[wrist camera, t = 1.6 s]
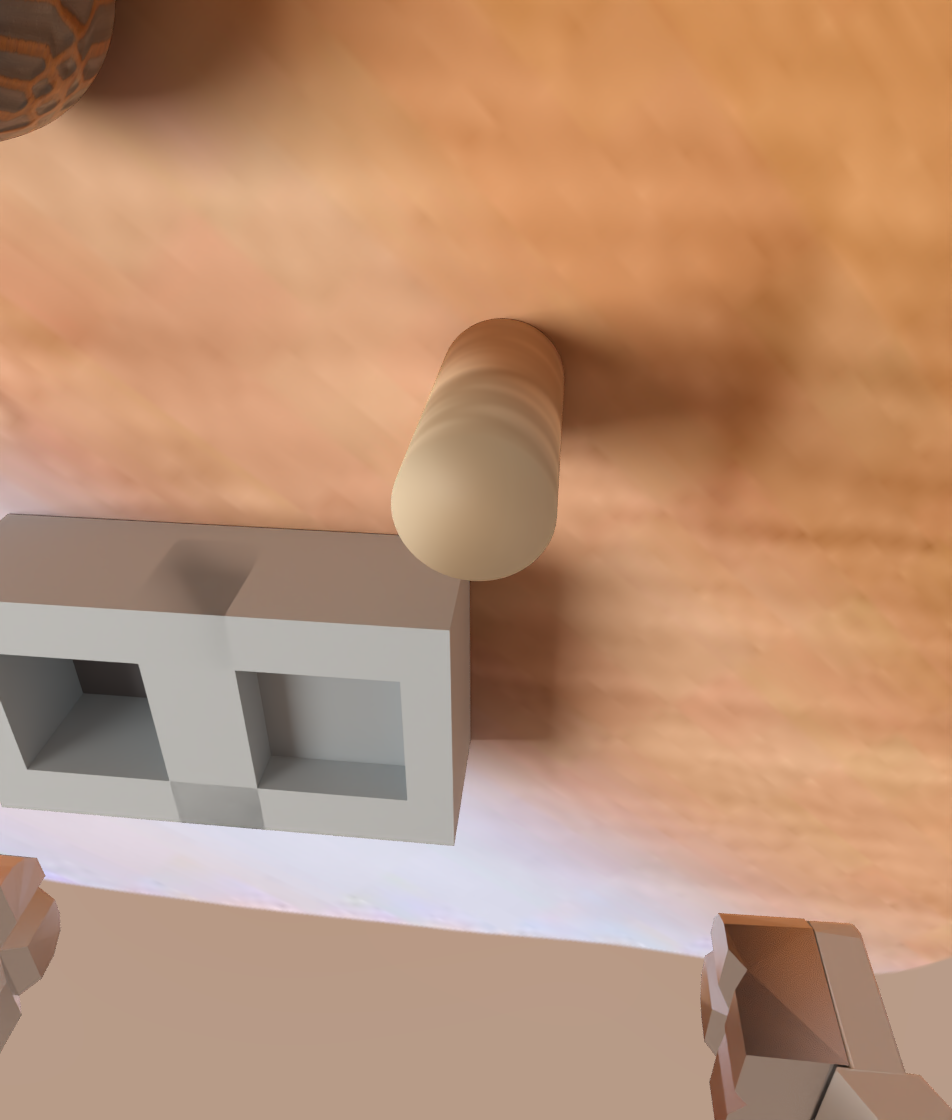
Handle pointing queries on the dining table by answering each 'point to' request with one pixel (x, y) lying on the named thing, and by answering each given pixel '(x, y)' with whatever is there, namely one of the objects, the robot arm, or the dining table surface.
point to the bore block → (232, 677)
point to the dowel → (485, 456)
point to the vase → (48, 58)
